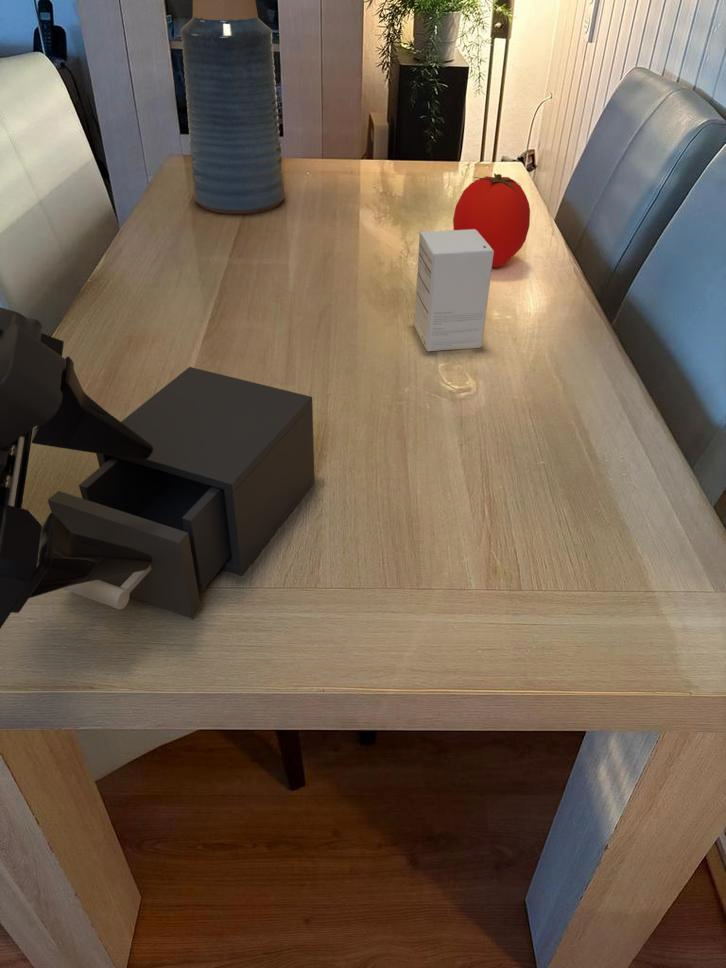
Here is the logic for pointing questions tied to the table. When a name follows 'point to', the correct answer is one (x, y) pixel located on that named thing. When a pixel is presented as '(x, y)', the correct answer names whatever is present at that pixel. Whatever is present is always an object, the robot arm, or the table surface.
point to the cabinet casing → (232, 450)
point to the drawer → (150, 533)
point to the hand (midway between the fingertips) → (150, 504)
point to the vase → (232, 108)
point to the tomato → (495, 215)
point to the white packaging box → (452, 289)
